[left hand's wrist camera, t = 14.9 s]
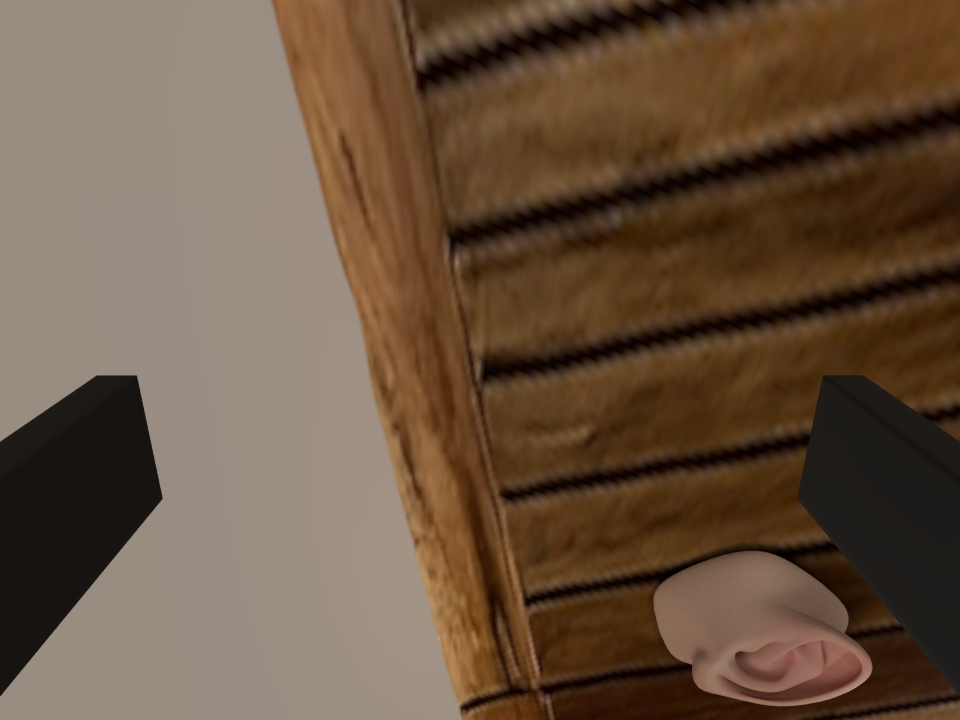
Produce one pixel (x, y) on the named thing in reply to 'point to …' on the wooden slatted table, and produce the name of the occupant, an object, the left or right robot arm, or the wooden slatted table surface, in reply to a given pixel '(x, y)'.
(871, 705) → the wooden slatted table surface
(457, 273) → the wooden slatted table surface
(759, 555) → the anatomical model
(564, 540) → the wooden slatted table surface
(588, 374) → the wooden slatted table surface
